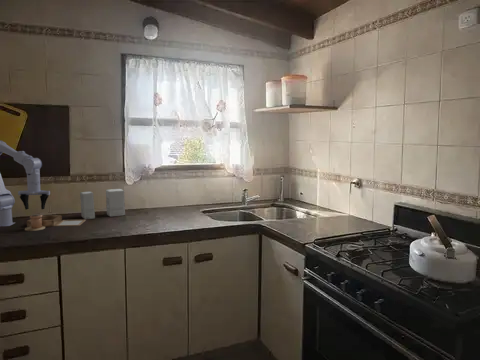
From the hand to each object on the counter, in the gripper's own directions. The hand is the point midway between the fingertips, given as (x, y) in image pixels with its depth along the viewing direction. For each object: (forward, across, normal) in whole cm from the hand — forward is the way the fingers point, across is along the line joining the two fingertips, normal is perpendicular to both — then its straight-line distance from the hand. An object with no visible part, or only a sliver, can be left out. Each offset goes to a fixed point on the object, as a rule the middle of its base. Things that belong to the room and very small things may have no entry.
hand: (35, 209), depth 197 cm
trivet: (+10, +1, -3) cm, 10 cm away
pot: (+9, +1, -2) cm, 9 cm away
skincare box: (+10, +20, +23) cm, 32 cm away
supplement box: (+10, +34, +31) cm, 47 cm away
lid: (+10, +15, +8) cm, 19 cm away
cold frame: (+10, +2, +8) cm, 13 cm away
